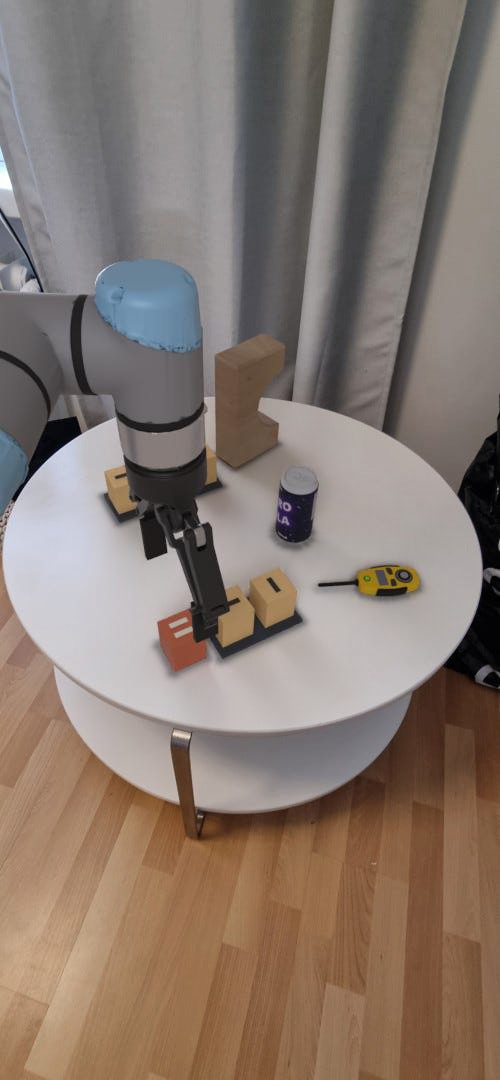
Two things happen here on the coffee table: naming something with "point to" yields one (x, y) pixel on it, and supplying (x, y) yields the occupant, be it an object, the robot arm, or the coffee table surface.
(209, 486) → the tan cubes
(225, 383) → the decorative block
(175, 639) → the pause symbol cube
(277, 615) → the tan boxes on tray
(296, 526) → the beverage can
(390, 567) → the yellow walkie talkie
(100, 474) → the coffee table surface
